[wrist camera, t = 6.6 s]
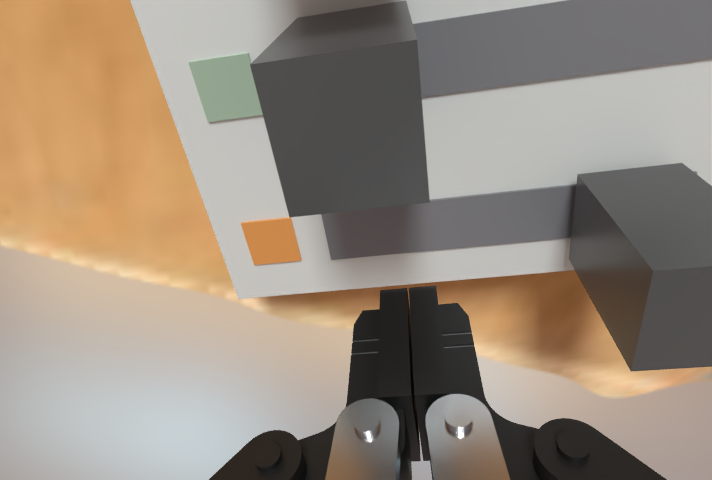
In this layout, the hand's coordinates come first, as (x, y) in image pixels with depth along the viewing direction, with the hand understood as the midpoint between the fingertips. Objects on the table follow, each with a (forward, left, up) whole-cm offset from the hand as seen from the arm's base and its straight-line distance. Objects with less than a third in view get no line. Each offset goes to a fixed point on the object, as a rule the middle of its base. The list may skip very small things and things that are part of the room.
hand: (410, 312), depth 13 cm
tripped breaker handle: (-7, 0, -4) cm, 8 cm away
